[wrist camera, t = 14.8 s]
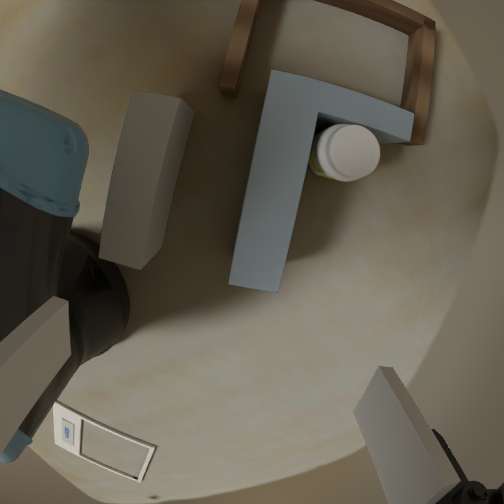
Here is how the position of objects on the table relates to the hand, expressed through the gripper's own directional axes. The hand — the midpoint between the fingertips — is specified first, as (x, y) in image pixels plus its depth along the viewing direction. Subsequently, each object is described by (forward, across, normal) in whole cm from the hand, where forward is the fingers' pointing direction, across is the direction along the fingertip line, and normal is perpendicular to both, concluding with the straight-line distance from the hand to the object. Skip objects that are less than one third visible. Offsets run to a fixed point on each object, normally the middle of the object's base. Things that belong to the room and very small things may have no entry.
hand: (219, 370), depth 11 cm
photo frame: (+21, +15, +41) cm, 48 cm away
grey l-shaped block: (+20, -6, -7) cm, 22 cm away
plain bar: (+20, +9, -5) cm, 23 cm away
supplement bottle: (+20, -7, -11) cm, 24 cm away
